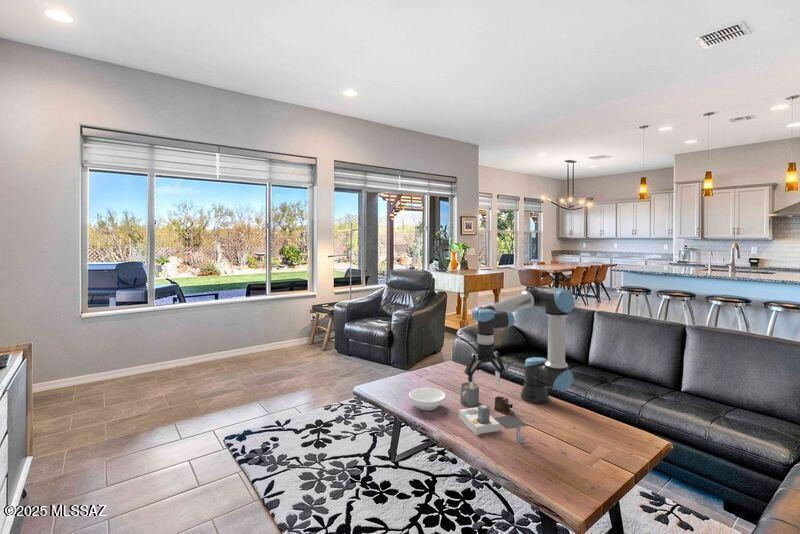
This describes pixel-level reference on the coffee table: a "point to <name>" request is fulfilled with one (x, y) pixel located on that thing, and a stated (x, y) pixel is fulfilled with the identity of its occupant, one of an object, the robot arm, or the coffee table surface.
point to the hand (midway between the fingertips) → (484, 386)
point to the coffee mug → (469, 395)
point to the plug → (483, 414)
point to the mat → (510, 421)
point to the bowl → (427, 398)
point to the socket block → (471, 421)
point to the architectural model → (518, 437)
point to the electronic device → (503, 405)
